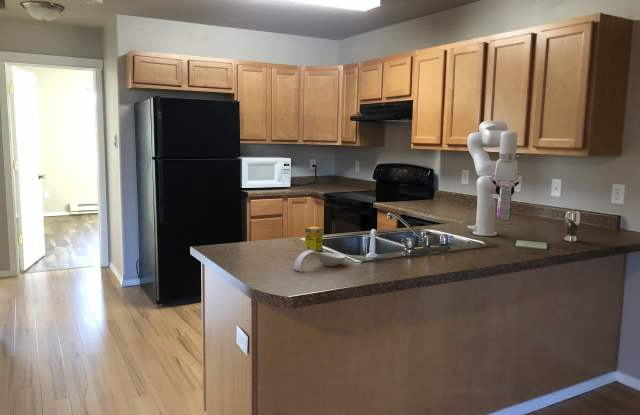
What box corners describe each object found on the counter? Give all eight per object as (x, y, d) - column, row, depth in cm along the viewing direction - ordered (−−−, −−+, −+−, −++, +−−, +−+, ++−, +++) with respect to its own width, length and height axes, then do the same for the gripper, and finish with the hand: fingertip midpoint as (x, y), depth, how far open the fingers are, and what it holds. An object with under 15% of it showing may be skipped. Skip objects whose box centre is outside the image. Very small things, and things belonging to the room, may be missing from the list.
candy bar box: (495, 216, 256) (498, 183, 253) (506, 217, 254) (509, 184, 252) (498, 220, 245) (501, 186, 242) (509, 221, 244) (512, 186, 241)
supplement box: (315, 254, 224) (316, 229, 222) (304, 252, 227) (304, 228, 225) (322, 251, 229) (323, 227, 227) (311, 249, 232) (312, 226, 230)
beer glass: (571, 242, 259) (574, 213, 257) (559, 240, 265) (562, 211, 263) (580, 241, 262) (583, 212, 260) (568, 239, 268) (571, 210, 266)
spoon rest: (331, 259, 215) (331, 242, 214) (351, 265, 206) (352, 247, 205) (287, 268, 199) (287, 250, 198) (307, 275, 191) (307, 256, 190)
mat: (515, 246, 247) (515, 245, 247) (516, 241, 260) (516, 240, 260) (546, 249, 242) (546, 248, 241) (546, 244, 254) (547, 242, 254)
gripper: (527, 157, 245) (524, 195, 248) (489, 156, 252) (487, 192, 255) (526, 158, 238) (523, 197, 241) (487, 157, 245) (485, 194, 248)
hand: (504, 194), depth 248 cm, fingers closed on candy bar box, 5 cm apart
